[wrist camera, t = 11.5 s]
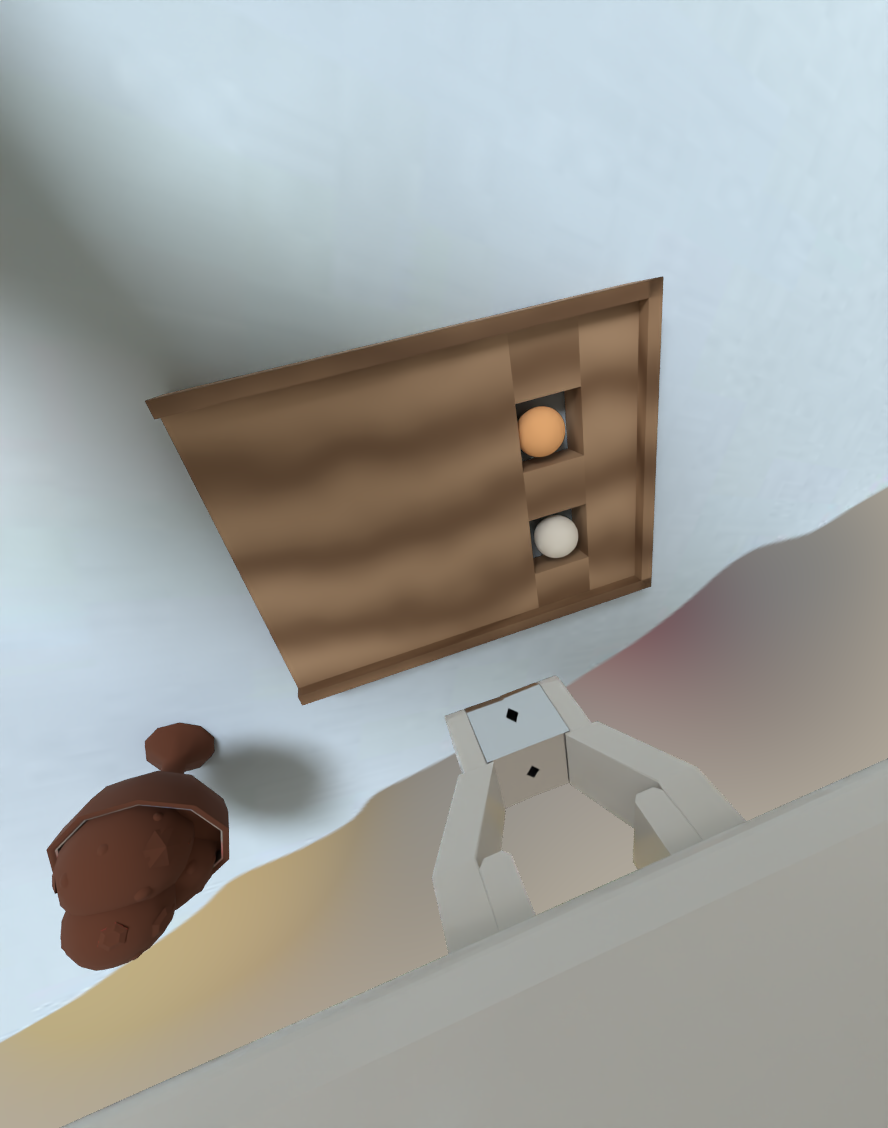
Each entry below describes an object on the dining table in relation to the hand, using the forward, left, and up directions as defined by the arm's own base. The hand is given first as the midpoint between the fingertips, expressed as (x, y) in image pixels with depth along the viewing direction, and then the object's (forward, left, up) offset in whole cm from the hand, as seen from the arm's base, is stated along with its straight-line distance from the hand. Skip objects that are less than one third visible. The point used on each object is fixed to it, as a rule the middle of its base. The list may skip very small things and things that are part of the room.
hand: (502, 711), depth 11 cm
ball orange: (0, +12, -23) cm, 26 cm away
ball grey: (+9, +13, -23) cm, 28 cm away
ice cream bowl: (+19, -23, -25) cm, 39 cm away
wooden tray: (+4, +5, -25) cm, 25 cm away
